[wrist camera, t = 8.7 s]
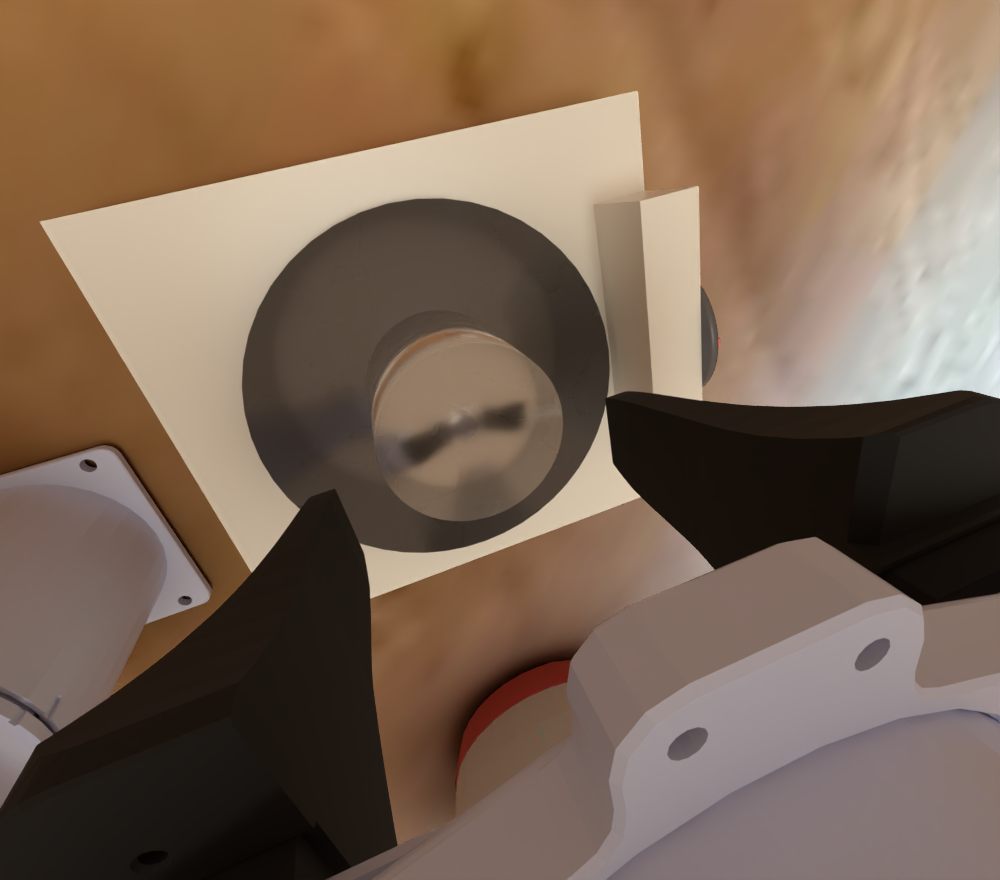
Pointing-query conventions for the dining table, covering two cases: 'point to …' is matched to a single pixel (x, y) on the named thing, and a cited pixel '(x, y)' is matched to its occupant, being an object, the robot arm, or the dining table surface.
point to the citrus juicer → (512, 730)
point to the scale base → (359, 187)
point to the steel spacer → (460, 417)
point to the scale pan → (372, 313)
